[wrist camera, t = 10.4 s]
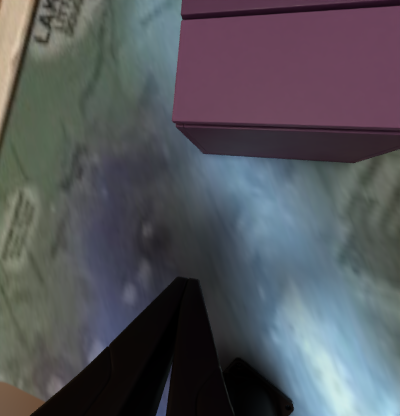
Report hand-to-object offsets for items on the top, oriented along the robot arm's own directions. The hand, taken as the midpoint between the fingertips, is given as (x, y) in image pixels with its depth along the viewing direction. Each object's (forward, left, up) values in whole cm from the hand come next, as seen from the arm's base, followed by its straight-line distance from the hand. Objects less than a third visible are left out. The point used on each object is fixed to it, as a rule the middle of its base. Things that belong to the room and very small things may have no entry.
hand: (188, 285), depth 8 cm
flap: (+2, -11, -4) cm, 11 cm away
